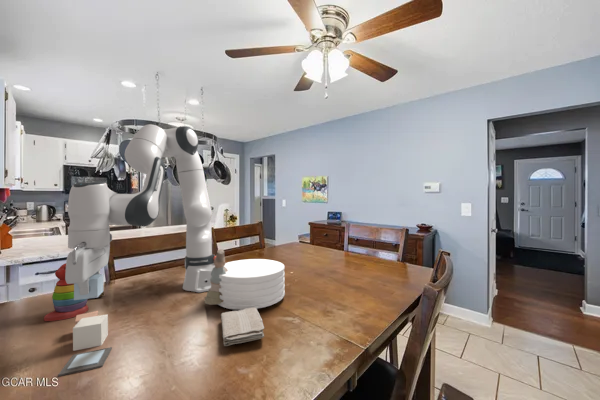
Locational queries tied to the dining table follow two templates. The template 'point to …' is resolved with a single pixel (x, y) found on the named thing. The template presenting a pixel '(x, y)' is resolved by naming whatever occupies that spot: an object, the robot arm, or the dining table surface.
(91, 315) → the terracotta block
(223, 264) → the figurine
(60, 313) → the stacking bear
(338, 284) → the dining table surface
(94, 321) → the cream block
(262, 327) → the washcloth
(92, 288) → the pale blue block
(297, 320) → the dining table surface
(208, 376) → the dining table surface
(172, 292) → the dining table surface
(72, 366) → the tile
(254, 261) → the plate stack
